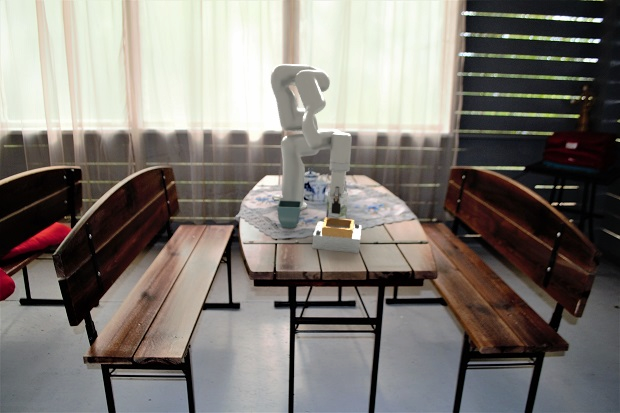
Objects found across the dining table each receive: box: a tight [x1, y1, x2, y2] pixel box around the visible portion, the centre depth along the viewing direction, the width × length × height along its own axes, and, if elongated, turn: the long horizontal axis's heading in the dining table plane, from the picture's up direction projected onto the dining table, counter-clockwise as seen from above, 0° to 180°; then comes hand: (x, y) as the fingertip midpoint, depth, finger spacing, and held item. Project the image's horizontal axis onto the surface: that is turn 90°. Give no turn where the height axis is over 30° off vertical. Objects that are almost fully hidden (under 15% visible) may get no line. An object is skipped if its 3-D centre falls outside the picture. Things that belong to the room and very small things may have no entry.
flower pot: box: [276, 200, 302, 229], centre depth 174 cm, size 9×9×9 cm
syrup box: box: [325, 191, 349, 219], centre depth 174 cm, size 6×6×14 cm
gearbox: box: [311, 216, 362, 254], centre depth 159 cm, size 16×14×8 cm
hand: (336, 209), depth 173 cm, fingers open, 9 cm apart
